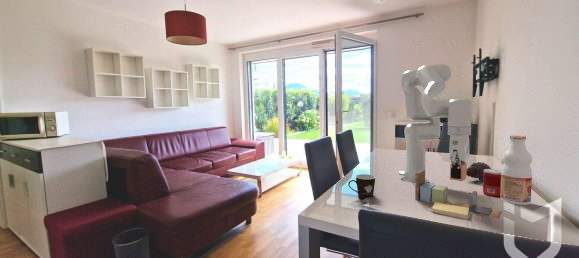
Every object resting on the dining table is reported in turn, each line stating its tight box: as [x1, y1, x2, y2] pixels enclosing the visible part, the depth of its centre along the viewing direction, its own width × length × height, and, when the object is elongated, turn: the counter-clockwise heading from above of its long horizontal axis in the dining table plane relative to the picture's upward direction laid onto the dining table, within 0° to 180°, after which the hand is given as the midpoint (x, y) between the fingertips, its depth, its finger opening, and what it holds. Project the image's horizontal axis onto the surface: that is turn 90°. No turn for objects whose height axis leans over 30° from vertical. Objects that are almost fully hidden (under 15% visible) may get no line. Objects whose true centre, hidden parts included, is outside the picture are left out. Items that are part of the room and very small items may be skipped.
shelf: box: [414, 169, 503, 219], centre depth 102 cm, size 28×8×13 cm, turn 44°
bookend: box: [468, 190, 493, 217], centre depth 97 cm, size 6×7×6 cm
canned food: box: [482, 168, 502, 198], centre depth 117 cm, size 8×8×11 cm
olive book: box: [431, 184, 449, 204], centre depth 107 cm, size 4×6×6 cm, turn 134°
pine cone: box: [466, 161, 492, 182], centre depth 138 cm, size 18×10×10 cm, turn 89°
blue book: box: [420, 182, 437, 203], centre depth 110 cm, size 4×6×6 cm, turn 134°
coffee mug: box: [347, 173, 376, 201], centre depth 118 cm, size 12×9×10 cm
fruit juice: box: [499, 135, 533, 206], centre depth 105 cm, size 9×9×28 cm
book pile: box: [426, 202, 474, 221], centre depth 97 cm, size 13×9×3 cm
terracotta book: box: [449, 162, 468, 182], centre depth 101 cm, size 4×6×6 cm, turn 134°
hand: (458, 176), depth 101 cm, fingers closed on terracotta book, 6 cm apart
